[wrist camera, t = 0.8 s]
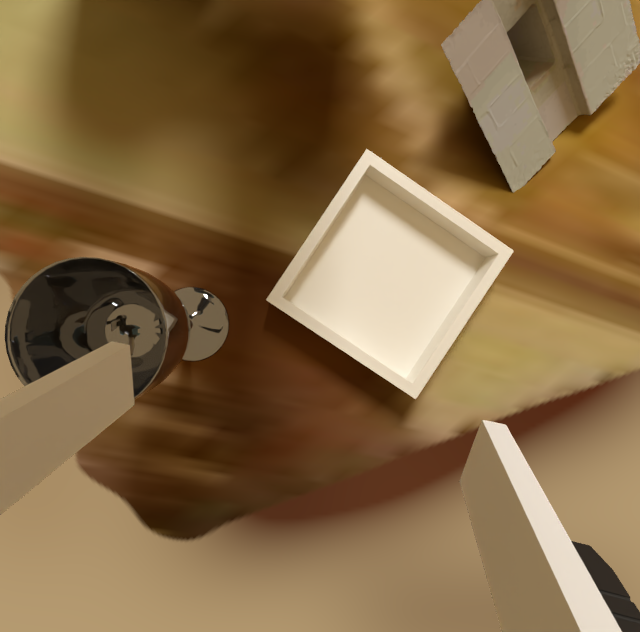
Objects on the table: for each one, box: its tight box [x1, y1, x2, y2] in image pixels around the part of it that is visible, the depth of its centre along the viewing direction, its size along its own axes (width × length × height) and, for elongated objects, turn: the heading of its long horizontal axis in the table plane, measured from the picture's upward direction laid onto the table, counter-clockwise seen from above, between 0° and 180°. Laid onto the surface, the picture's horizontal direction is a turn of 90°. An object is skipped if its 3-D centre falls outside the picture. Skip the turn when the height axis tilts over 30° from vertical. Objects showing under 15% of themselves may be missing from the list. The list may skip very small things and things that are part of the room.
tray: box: [266, 149, 513, 399], centre depth 31 cm, size 16×16×3 cm
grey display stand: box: [441, 0, 640, 192], centre depth 30 cm, size 16×9×15 cm
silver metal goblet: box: [5, 257, 229, 399], centre depth 24 cm, size 8×8×15 cm
